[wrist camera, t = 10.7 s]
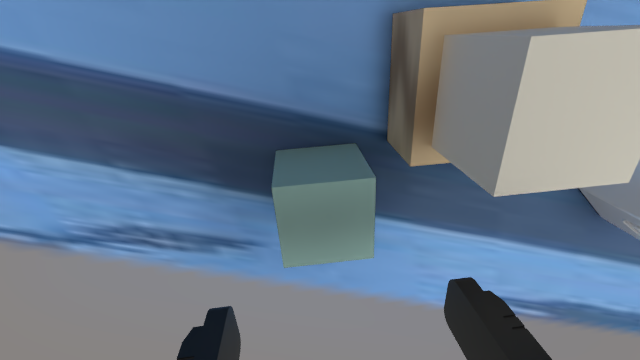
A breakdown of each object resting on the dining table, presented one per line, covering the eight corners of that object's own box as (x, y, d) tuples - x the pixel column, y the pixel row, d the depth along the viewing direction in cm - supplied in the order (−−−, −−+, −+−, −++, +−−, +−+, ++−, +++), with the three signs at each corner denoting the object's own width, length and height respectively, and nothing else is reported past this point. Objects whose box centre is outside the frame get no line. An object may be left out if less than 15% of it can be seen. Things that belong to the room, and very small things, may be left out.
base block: (392, 13, 15) (423, 8, 12) (520, 5, 16) (587, -3, 12) (387, 140, 19) (410, 166, 15) (493, 131, 19) (540, 154, 15)
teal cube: (276, 149, 18) (271, 187, 14) (355, 142, 19) (375, 177, 14) (285, 216, 21) (283, 267, 16) (355, 209, 21) (373, 257, 16)
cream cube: (444, 35, 12) (531, 36, 8) (557, 27, 13) (702, 23, 8) (431, 146, 15) (493, 197, 10) (527, 137, 15) (628, 182, 10)
